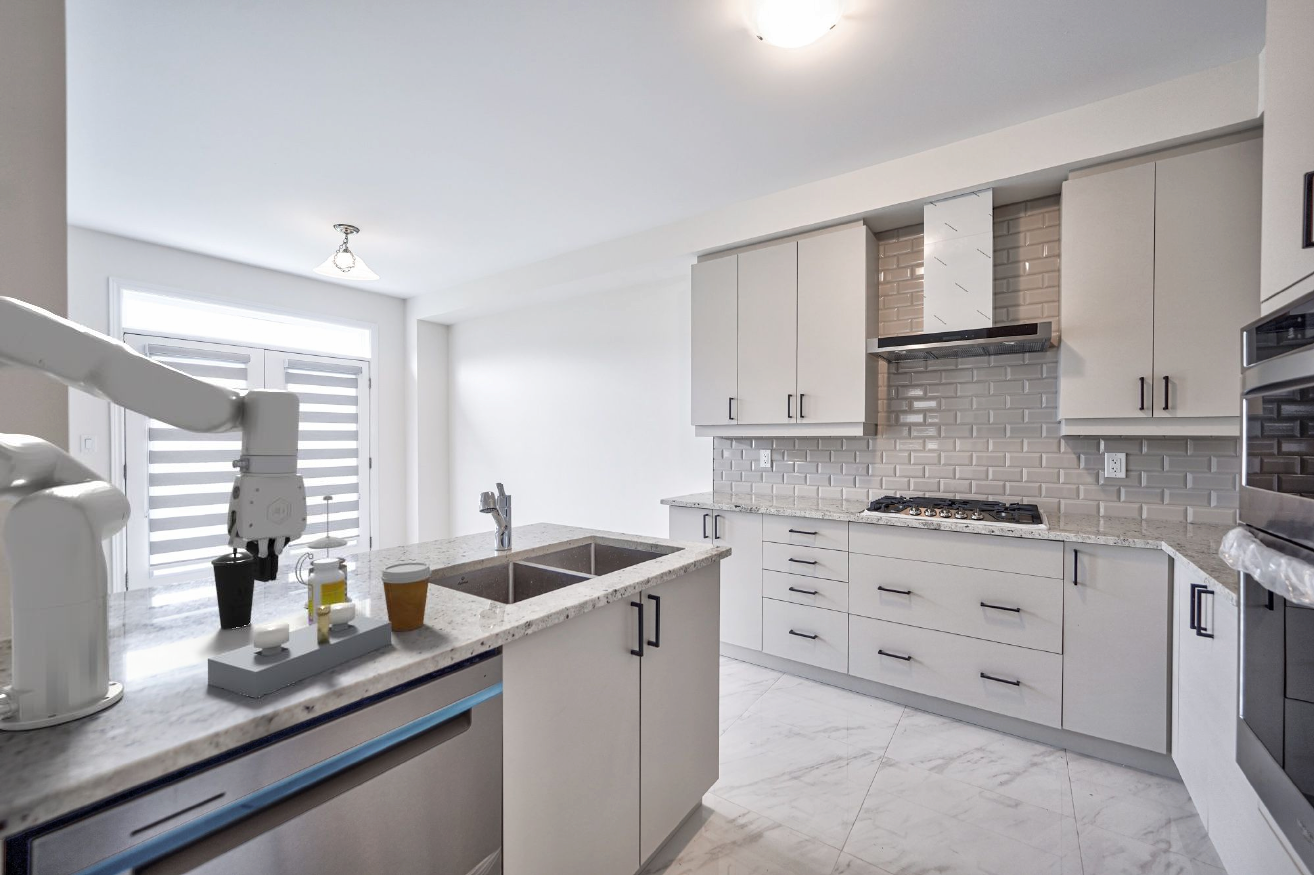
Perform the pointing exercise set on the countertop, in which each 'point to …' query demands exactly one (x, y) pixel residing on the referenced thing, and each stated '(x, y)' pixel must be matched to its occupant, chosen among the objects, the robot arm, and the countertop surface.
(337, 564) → the supplement bottle
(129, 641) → the countertop surface
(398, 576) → the disposable coffee cup
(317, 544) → the french press
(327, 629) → the brass post
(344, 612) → the knob far
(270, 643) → the knob near
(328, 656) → the mount
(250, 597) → the drinking cup
